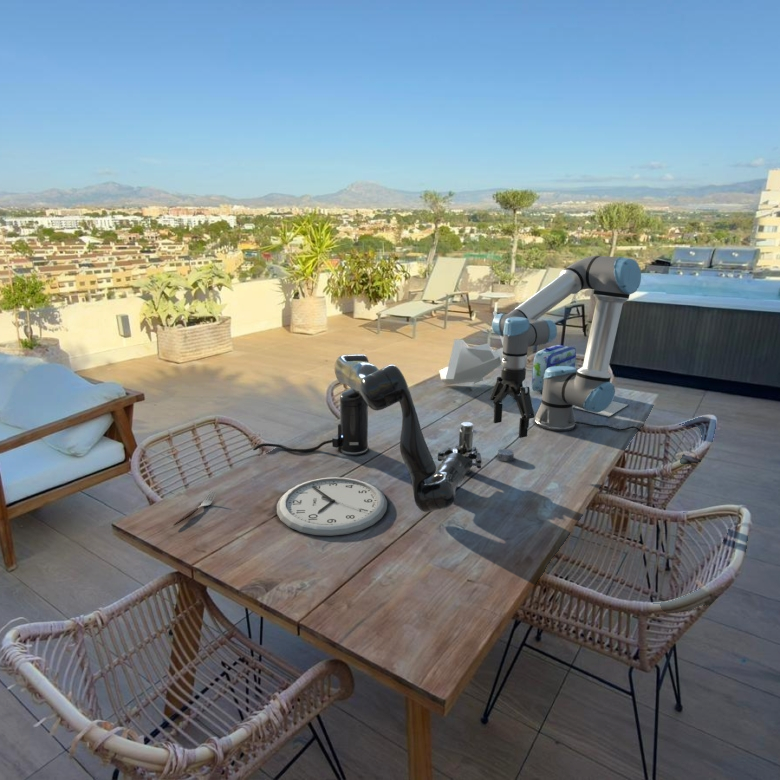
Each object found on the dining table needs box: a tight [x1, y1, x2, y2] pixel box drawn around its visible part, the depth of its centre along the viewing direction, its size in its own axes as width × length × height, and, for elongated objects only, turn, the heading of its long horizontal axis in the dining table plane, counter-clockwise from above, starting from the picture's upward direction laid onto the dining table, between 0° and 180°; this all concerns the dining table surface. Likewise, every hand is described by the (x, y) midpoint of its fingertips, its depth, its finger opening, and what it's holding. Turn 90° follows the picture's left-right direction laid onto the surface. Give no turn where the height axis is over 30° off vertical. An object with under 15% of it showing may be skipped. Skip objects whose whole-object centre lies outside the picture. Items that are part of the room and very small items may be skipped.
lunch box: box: [531, 344, 577, 393], centre depth 246 cm, size 26×11×21 cm, turn 135°
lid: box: [497, 448, 515, 463], centre depth 173 cm, size 5×5×2 cm
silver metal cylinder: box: [458, 421, 474, 475], centre depth 162 cm, size 4×4×16 cm
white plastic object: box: [438, 310, 528, 387], centre depth 245 cm, size 37×45×31 cm
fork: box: [173, 490, 218, 526], centre depth 138 cm, size 3×16×2 cm, turn 160°
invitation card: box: [573, 400, 629, 418], centre depth 226 cm, size 21×1×15 cm
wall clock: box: [276, 476, 388, 537], centre depth 142 cm, size 30×2×30 cm
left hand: (467, 448), depth 165 cm, fingers closed on silver metal cylinder, 4 cm apart
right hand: (509, 429), depth 171 cm, fingers open, 13 cm apart
